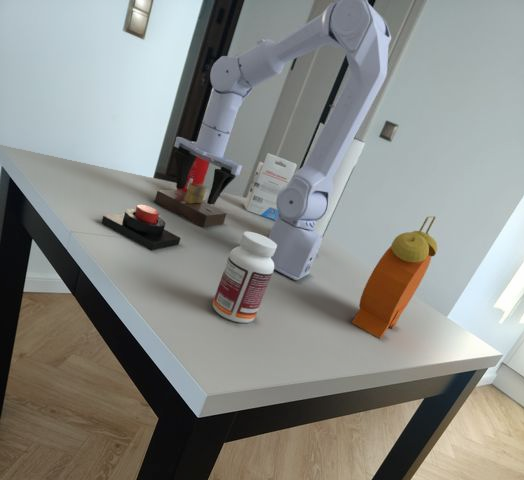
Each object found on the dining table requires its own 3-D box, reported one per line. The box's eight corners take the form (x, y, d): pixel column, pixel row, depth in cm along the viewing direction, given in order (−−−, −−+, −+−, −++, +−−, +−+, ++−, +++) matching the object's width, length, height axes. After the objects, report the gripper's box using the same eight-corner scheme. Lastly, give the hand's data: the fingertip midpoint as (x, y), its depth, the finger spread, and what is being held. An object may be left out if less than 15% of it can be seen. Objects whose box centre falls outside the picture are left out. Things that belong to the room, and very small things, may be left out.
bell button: (160, 223, 84) (163, 213, 83) (147, 224, 80) (150, 214, 80) (142, 214, 84) (145, 204, 84) (129, 215, 81) (132, 204, 80)
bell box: (178, 244, 86) (183, 228, 85) (151, 250, 79) (157, 232, 78) (131, 219, 88) (135, 203, 87) (101, 223, 81) (105, 205, 80)
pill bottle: (253, 311, 73) (281, 240, 69) (253, 329, 68) (285, 254, 63) (212, 297, 72) (238, 224, 67) (209, 314, 67) (238, 237, 62)
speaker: (316, 260, 111) (370, 141, 100) (272, 243, 110) (321, 120, 99) (314, 248, 121) (363, 137, 110) (274, 231, 120) (319, 118, 108)
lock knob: (196, 200, 107) (201, 182, 105) (201, 202, 107) (207, 185, 105) (184, 200, 103) (189, 182, 101) (189, 203, 102) (195, 185, 101)
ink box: (273, 215, 135) (294, 161, 128) (276, 221, 130) (298, 164, 124) (243, 205, 132) (263, 148, 126) (245, 210, 128) (266, 152, 122)
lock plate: (223, 224, 108) (227, 212, 107) (202, 227, 100) (206, 214, 99) (177, 200, 111) (181, 189, 110) (153, 202, 103) (157, 189, 102)
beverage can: (172, 191, 116) (188, 138, 111) (193, 197, 119) (209, 146, 114) (178, 198, 113) (195, 144, 108) (200, 204, 115) (217, 152, 110)
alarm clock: (368, 309, 95) (421, 208, 87) (397, 325, 93) (454, 223, 85) (345, 322, 84) (403, 208, 75) (378, 341, 82) (441, 225, 73)
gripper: (174, 111, 96) (155, 181, 102) (239, 141, 93) (215, 211, 99) (193, 116, 102) (174, 181, 108) (254, 144, 99) (231, 209, 105)
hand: (195, 195), depth 104 cm, fingers open, 7 cm apart
